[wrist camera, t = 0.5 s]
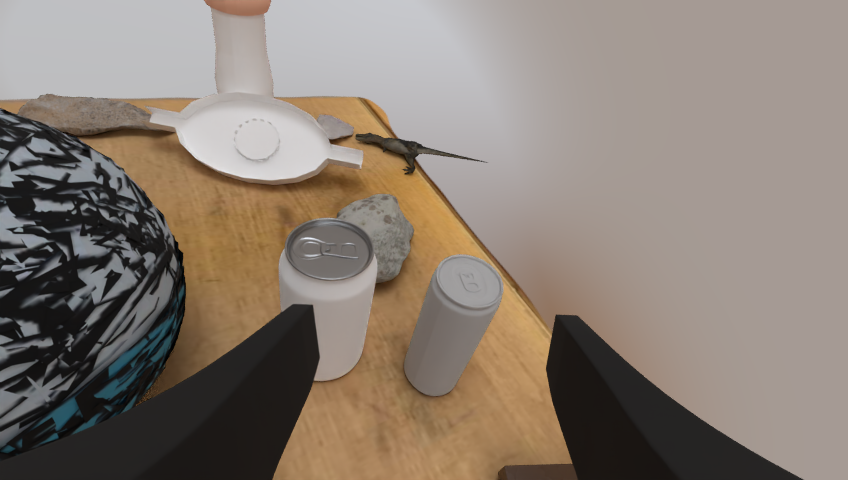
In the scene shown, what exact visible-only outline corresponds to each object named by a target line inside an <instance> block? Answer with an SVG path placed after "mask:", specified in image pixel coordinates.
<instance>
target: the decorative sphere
mask: <svg viewBox="0 0 848 480" xmlns="http://www.w3.org/2000/svg"><path fill="white" fill-rule="evenodd" d="M185 298H186V283H185V276H184V266H183V253H182V252H181V251H180V250H179V249H178V242H177V241H175V238H174V236H173V235H172V234H171V232H170V229H169V227H168V225H167V222H166V220H165V218H164V215H163V214H162V213H161V212H160V211H159V210H158V209H157V208H156V207H155V206H154V205H153V203H152V202H151V201H150V200H149V198H148V197H147V195H146V194H145V192H144V191H143V190H142V189H141V188H140V187H139V186H138V185H137V184H136V183H135V182H134V181H133V180H132V179H131V178H130V177H129V176H128V175H127V174H126V173H125V171H124V169H123V168H121V167H120V166H118V165H117V164H116V163H115V162H114V161H113V160H112V159H111V158H109V157H107V156H105V155H103V154H101V153H99V152H97V151H96V150H94V149H93V148H91V147H90V146H88V145H87V144H85V143H84V142H82V141H81V140H80V139H78V138H77V137H76V136H72V135H66V134H64V133H62V132H61V131H60V130H58V129H56V128H53V127H51V126H48V125H46V124H44V123H41V122H38V121H34V120H30V119H28V118H25V117H23V116H21V115H18V114H14V113H11V112H8V111H6V110H4V109H1V108H0V461H3V460H5V459H8V458H11V457H14V456H17V455H19V454H22V453H25V452H28V451H30V450H33V449H36V448H38V447H41V446H44V445H46V444H49V443H52V442H55V441H57V440H60V439H62V438H65V437H67V436H70V435H72V434H75V433H77V432H80V431H82V430H84V429H87V428H89V427H91V426H94V425H96V424H99V423H101V422H103V421H105V420H108V419H110V418H112V417H114V416H116V415H119V414H121V413H123V412H125V411H127V410H129V409H131V408H133V407H135V405H136V404H137V403H138V402H139V401H140V400H141V399H142V397H143V396H144V395H145V394H146V392H147V391H148V390H149V389H150V388H151V387H152V386H153V384H154V382H155V380H156V379H157V378H158V377H159V375H160V374H161V373H162V371H163V370H164V369H165V367H164V366H165V363H166V361H167V359H168V358H169V357H170V356H169V355H170V353H171V352H172V350H173V349H174V346H175V345H176V344H175V343H176V340H177V339H178V335H179V332H180V328H181V324H182V321H183V317H184V312H185ZM172 353H173V352H172ZM172 353H171V354H172Z"/></svg>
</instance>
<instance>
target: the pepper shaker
mask: <svg viewBox="0 0 848 480" xmlns="http://www.w3.org/2000/svg"><path fill="white" fill-rule="evenodd" d="M204 1H205V2H206V4H207V5H208V6H210V7H211V11H212V19H213V27H214V35H215V43H216V63H215V80H216V86H217V91H218V94H222V93H234V92H241V93H249V94H258V95H265V96H269V97H272V98H273V79H272V74H271V70H270V65H269V60H268V56H267V51H266V35H265V22H264V21H265V20H264V13H266V12H267V11H268V9H269V6H270V3H271V0H204Z"/></svg>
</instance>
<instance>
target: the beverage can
mask: <svg viewBox="0 0 848 480" xmlns="http://www.w3.org/2000/svg"><path fill="white" fill-rule="evenodd" d="M502 294H503V282H502V279H501V277H500V275H499V274H498V272H497V271H496V270H495V269H494V268H493V267H492V266H491V265H490V264H488V263H487V262H485V261H484V260H482V259H479V258H477V257H474V256H470V255H460V254H459V255H452V256H450V257H447V258H445V259H444V260H443V261H442V262H440V264H439V266H438V267H437V269H436V270H435V272H434V274H433V275H432V278H431V281H430V284H429V287H428V290H427V293H426V296H425V299H424V302H423V305H422V308H421V311H420V315H419V318H418V321H417V324H416V327H415V330H414V333H413V336H412V339H411V342H410V345H409V348H408V351H407V354H406V357H405V361H404V371H405V374H406V376H407V378H408V380H409V381H410V383H411V384H412V385H413V386H414V387H415V388H416V389H417V390H418V391H420V392H422V393H423V394H426V395H430V396H441V395H444V394H447V393H448V392H450V391H451V390H452V389H453V388H454V386H455V385H456V384H457V382H458V380H459V378H460V376H461V375H462V373H463V371H464V369H465V367H466V366H467V364H468V362H469V360H470V359H471V357H472V355H473V353H474V351H475V350H476V348H477V346H478V344H479V342H480V341H481V339H482V337H483V335H484V333H485V331H486V329H487V328H488V326H489V324H490V322H491V320H492V318H493V316H494V314H495V313H496V311H497V309H498V307H499V305H500V302H501V299H502Z"/></svg>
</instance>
